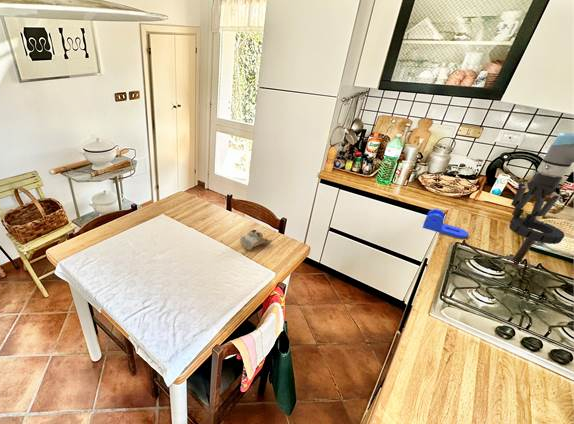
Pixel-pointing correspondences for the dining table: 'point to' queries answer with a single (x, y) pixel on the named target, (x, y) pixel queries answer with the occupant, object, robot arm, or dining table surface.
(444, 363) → the dining table surface
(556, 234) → the tape roll
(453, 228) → the bracket
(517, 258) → the peg stand
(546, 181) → the robot arm
